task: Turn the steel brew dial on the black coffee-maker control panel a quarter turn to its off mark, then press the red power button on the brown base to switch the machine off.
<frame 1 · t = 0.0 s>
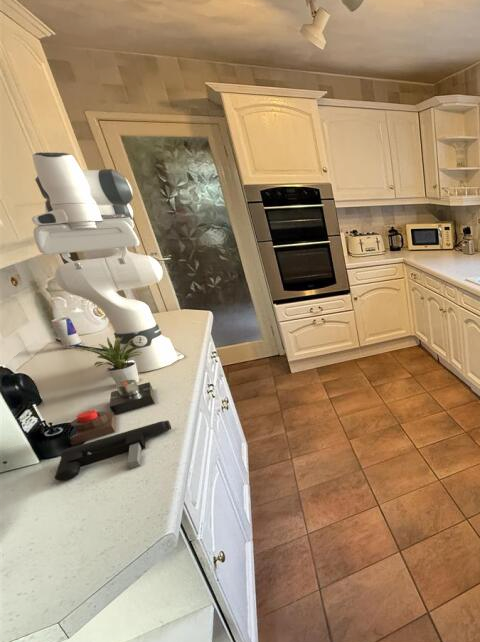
hand: (101, 266, 113), 39 cm above the countertop, tool pointing down, fingers open, 8 cm apart
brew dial: (127, 387, 116), point 5 cm above the countertop, hinge at 0.0°
dial panel: (134, 402, 118), on the countertop
power base: (95, 430, 105), on the countertop
black gun: (119, 457, 94), on the countertop
power button: (87, 416, 103), point 4 cm above the countertop, slide at 0.1 cm
house plant: (126, 385, 130), on the countertop
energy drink: (74, 346, 166), on the countertop
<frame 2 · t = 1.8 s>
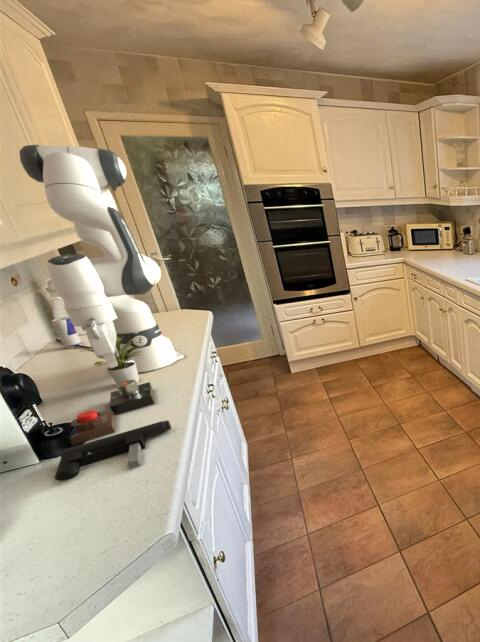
hand: (114, 361, 113), 14 cm above the countertop, tool pointing down, fingers open, 8 cm apart
nothing on the countertop moved.
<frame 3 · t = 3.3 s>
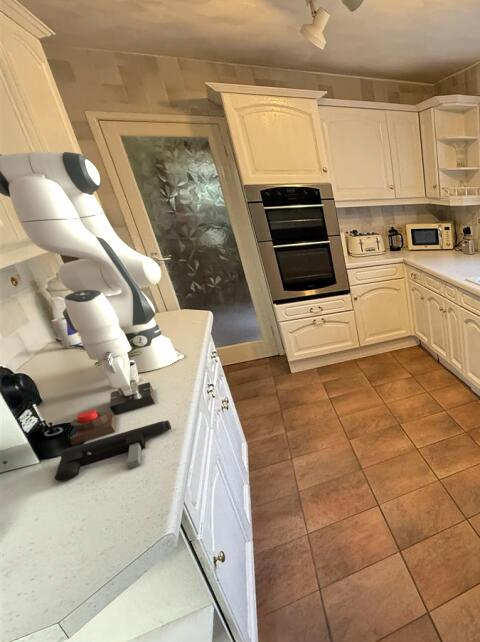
hand: (129, 390, 117), 4 cm above the countertop, tool pointing down, fingers closed on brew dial, 4 cm apart
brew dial: (127, 387, 116), point 5 cm above the countertop, hinge at 0.1°, touching gripper
everything else where it was.
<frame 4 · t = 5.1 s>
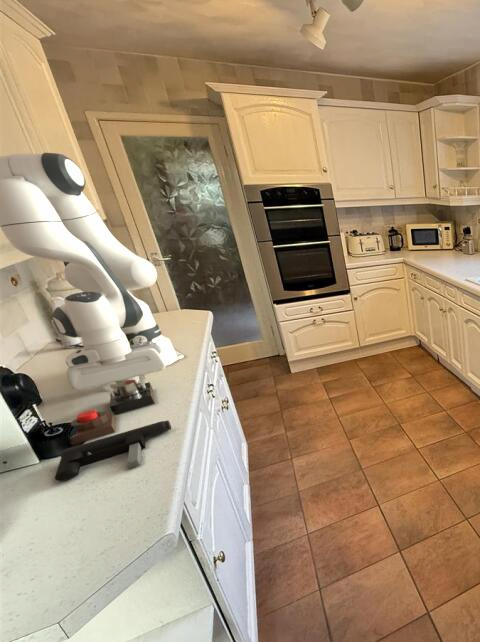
hand: (129, 392, 117), 4 cm above the countertop, tool pointing down, fingers closed on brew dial, 4 cm apart
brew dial: (127, 387, 116), point 5 cm above the countertop, hinge at 82.3°, touching gripper
everything else where it was.
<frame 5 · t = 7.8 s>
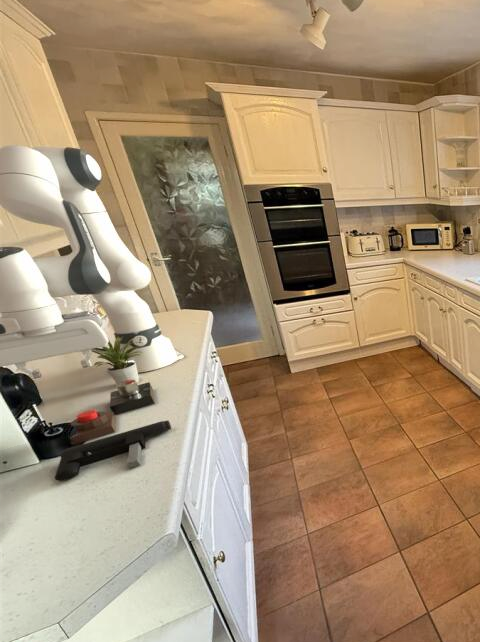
hand: (63, 372, 98), 18 cm above the countertop, tool pointing down, fingers open, 7 cm apart
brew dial: (127, 387, 116), point 5 cm above the countertop, hinge at 82.3°
everything else where it was.
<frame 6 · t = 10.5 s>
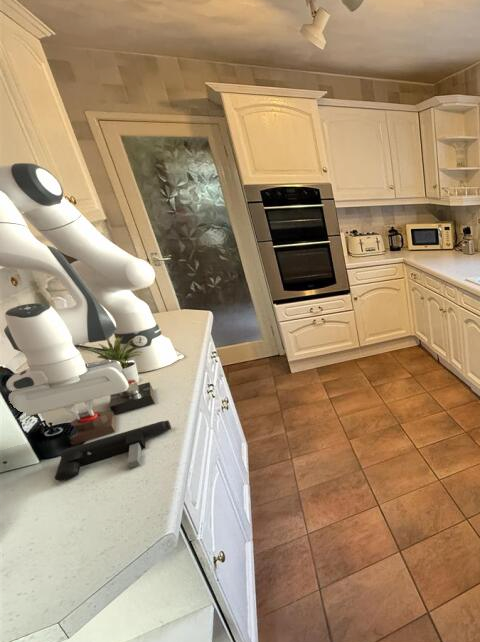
hand: (86, 417, 103), 4 cm above the countertop, tool pointing down, fingers closed, pressing on power button
power button: (89, 419, 103), point 4 cm above the countertop, slide at -0.8 cm, touching gripper
everything else where it was.
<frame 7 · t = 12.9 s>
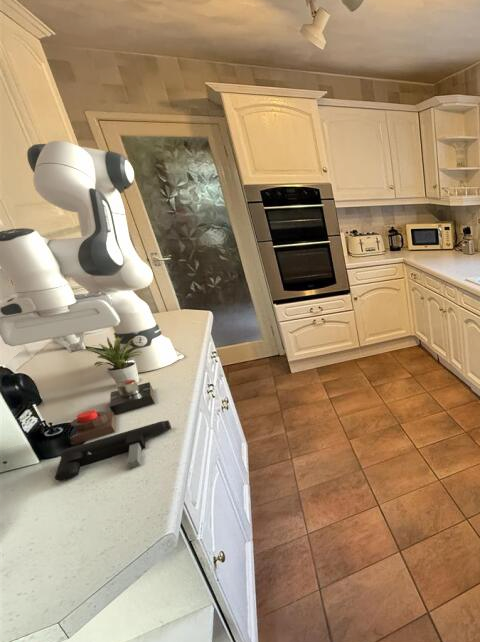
hand: (77, 350, 101), 21 cm above the countertop, tool pointing down, fingers closed
power button: (87, 416, 103), point 4 cm above the countertop, slide at 0.1 cm
everything else where it was.
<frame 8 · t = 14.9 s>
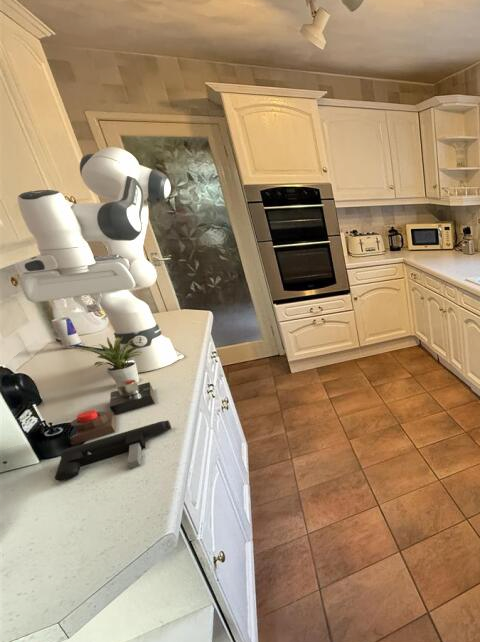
hand: (94, 311, 105), 29 cm above the countertop, tool pointing down, fingers closed
nothing on the countertop moved.
at the end: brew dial at +82° (first picture: +0°); power button pushed in 1.1 cm at the most during the clip, back to where it started at the end; power button slide at 0.1 cm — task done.
